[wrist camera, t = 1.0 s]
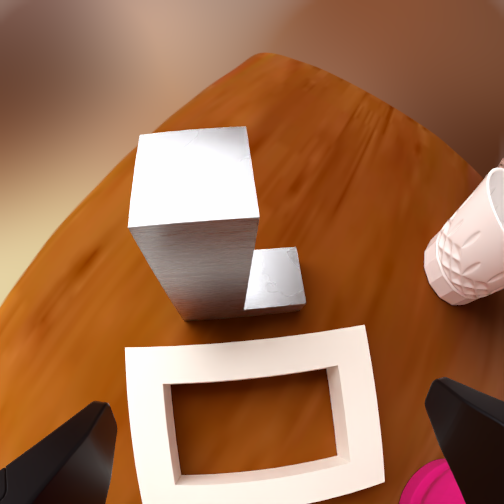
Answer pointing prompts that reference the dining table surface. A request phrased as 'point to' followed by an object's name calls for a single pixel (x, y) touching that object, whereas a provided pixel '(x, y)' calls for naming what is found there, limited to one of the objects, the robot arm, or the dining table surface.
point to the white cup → (470, 246)
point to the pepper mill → (432, 486)
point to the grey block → (208, 227)
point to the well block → (251, 367)
